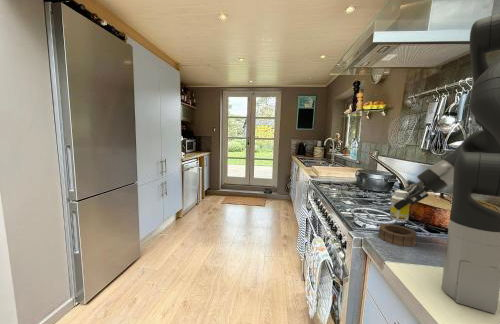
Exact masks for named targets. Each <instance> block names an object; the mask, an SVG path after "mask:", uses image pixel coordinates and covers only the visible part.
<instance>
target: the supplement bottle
mask: <svg viewBox="0 0 500 324" xmlns="http://www.w3.org/2000/svg"><path fill="white" fill-rule="evenodd" d="M407 193H408V192H406V191H402V190H400V189H399V190H398V189H397V190H394V193H393V195H391V200H390V202H391V203H390V213H389V216H390V218H391V219H393V220H395V221H400V222H407V221H409V219H410V218H409V217H410V206H411V204H410V205H406V206H405V207H403V208H402V209H400V210H397V209H396V208H395V207H394V204H396V203H397V202H399V201H400V200H402V199H403V198H404V197H406V196H407Z"/></svg>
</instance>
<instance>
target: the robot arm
mask: <svg viewBox="0 0 500 324" xmlns="http://www.w3.org/2000/svg"><path fill="white" fill-rule="evenodd" d="M496 51H500V13H499V12H498V13H496V14H493V15H489V16H485V17H482V18H480V19H477V20H475V21H474V22H473V24H472V26H471V29H470V32H469V55H470V63H471V64H470V65H471V75H472V80H473V81H472V82H473V85H472V88H471V96H470V103H469V109H470V110H469V111H470V112H471V115H472V116H473V118H474V122H475V123H476V124H477V125H478V126H480V127H481V130H477V131H475V132H473V133H471V134H470V135H468V136H467V137H466V138H465V139H464V141H463V142H462V143H460V144H459V146H457V148H456V150H454V151H453V152H451V154H449V155H447V156H446V157H444V158H443V159H441V160H440V161H438V162H436V163H434V164H433V165H432V166H430V167H428V168H427V169H426V170H424V171H422V172H421V173H419V174H417V176H416V178H417V179H418V180H419V181H418V182H417V183H415V182H411V183H410V184H409V185H407V186H406V187H404V188H403V189H402V190H401V191H406V192H408V193H407V196H406V197H404V198H403V199H402V200H400V201H399V202H397V203H396V204H394V207H395V208H396V209H397V210H400V209H402V208H403V207H405V206H406V205H410V206H413V205H416V204H417V203H419V202H420V201H421V200H424V199H425V198H427V197H429V193H428V192H429V191H431V192H432V193H434V194H436V193H439V192H440V191H441V190H444V189H445V188H447V186H450V185H452V201H451V206H450V207H451V208H450V213H449V223H448V229H447V237H446V245H445V253H444V262H443V270H442V279H441V289H442V291H443V292H444V293H445V294H447V296H449V297H450V298H452V299H453V300H454V301H455V302H456V303H457V304H460V305H464V306H467V307H470V308H475V309H476V310H480V311H484V312H488V313H490V314H494V315H495V314H496V310H497V309H498V306H499V305H498V304H499V299H500V212H499V211H497V210H494V209H492V208H489V207H487V206H485V205H482V204H481V203H480V202H478V201H476V200H475V199H474V198H473V197H472V194H473V195H474V194H475V195H482V196H489V197H497V198H500V57H499V58H498V59H497V60H495V61H494V63H493V64H491V65H490V66H489V64H488V61H487V54H489V53H491V52H492V53H493V52H496Z"/></svg>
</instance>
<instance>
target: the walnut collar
mask: <svg viewBox="0 0 500 324" xmlns="http://www.w3.org/2000/svg"><path fill="white" fill-rule="evenodd" d="M417 236H418V235H417V231H415V230H412V229H410V228H408V227H405V226H403V225H402V226H401V225H398V224H391V223H389V224H387V223H384V224H380V225H379V228H378V238H380V239H381V240H383V241H384V242H387V243H389V244H391V245H392V244H393V245H396V246H401V247H414V246H416V244H417V238H418V237H417Z"/></svg>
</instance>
